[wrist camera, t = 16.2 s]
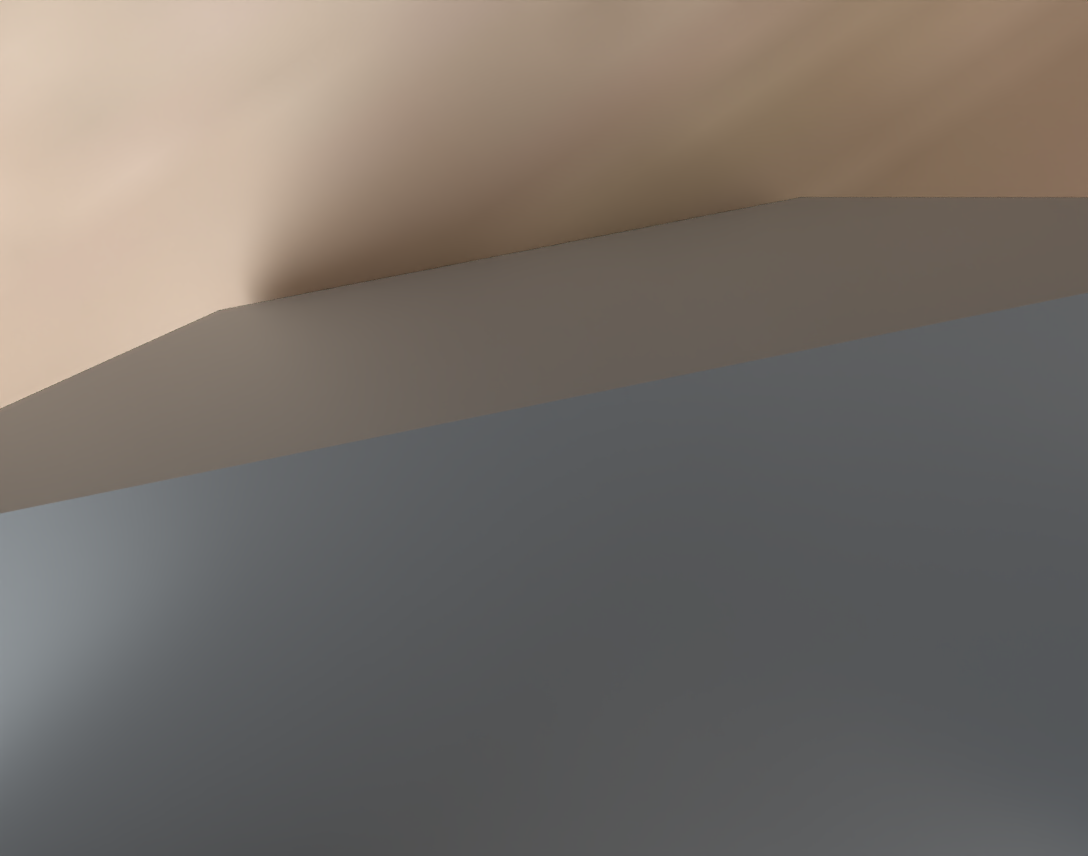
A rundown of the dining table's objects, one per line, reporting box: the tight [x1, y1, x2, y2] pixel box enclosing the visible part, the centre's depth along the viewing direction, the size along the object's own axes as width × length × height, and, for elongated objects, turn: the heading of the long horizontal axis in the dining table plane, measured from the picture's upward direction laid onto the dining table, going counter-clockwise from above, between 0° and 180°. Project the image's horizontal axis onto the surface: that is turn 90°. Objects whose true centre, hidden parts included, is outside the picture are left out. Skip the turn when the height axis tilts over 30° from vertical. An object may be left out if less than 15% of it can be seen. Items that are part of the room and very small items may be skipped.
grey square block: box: [0, 197, 1088, 856], centre depth 9 cm, size 10×10×9 cm
